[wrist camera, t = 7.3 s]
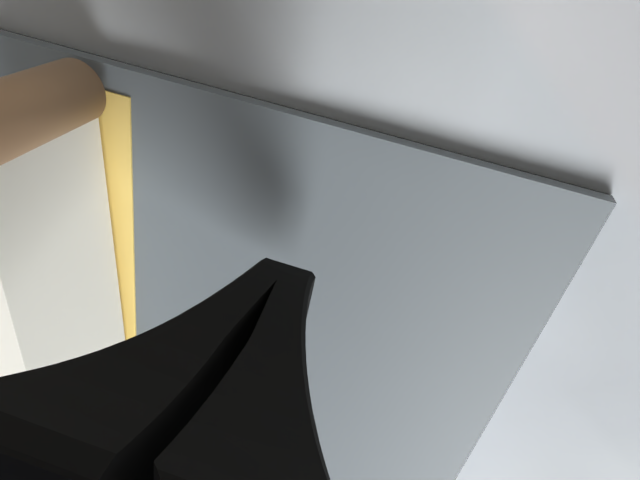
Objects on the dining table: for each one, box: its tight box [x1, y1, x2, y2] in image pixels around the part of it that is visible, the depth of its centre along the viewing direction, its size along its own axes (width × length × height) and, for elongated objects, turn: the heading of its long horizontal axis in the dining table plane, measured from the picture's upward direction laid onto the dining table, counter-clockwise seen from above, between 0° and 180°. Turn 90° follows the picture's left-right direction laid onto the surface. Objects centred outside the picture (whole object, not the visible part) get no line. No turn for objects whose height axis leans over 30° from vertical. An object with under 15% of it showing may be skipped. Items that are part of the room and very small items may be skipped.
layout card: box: [0, 29, 616, 480], centre depth 17 cm, size 16×24×1 cm, turn 80°
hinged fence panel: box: [0, 58, 125, 377], centre depth 13 cm, size 11×2×5 cm, turn 174°
